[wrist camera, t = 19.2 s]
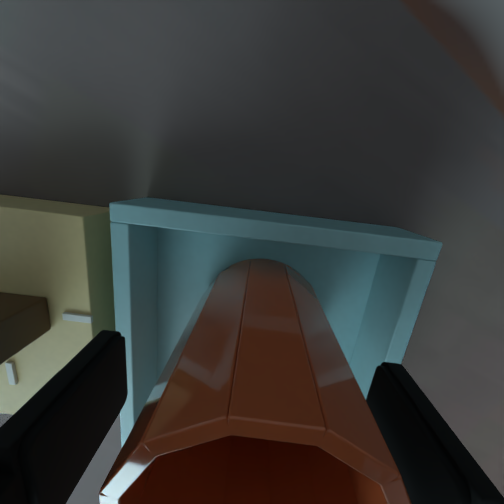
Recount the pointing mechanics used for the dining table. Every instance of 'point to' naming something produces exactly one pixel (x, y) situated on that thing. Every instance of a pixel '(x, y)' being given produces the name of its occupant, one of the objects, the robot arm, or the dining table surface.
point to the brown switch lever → (21, 322)
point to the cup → (256, 407)
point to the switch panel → (54, 285)
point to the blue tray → (265, 247)
